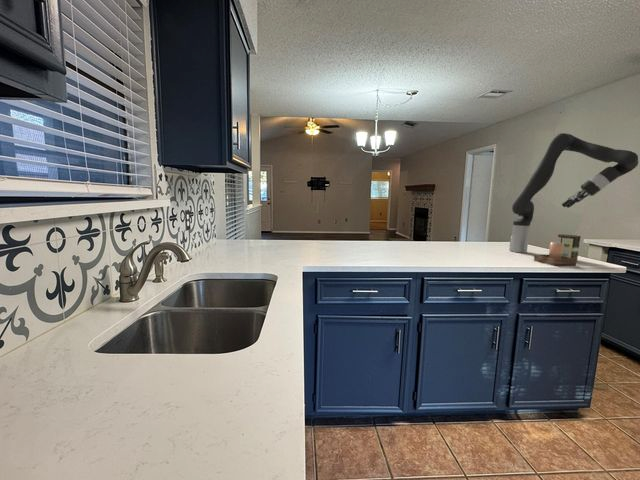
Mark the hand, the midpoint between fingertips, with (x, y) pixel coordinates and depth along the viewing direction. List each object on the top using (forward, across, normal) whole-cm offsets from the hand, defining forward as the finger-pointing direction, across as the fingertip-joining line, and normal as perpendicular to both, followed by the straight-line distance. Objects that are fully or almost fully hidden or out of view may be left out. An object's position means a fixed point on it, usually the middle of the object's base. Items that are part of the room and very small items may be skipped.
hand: (564, 206), depth 171 cm
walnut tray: (+23, +4, +20) cm, 31 cm away
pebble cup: (+22, +4, +19) cm, 30 cm away
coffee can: (+18, -11, +26) cm, 33 cm away
